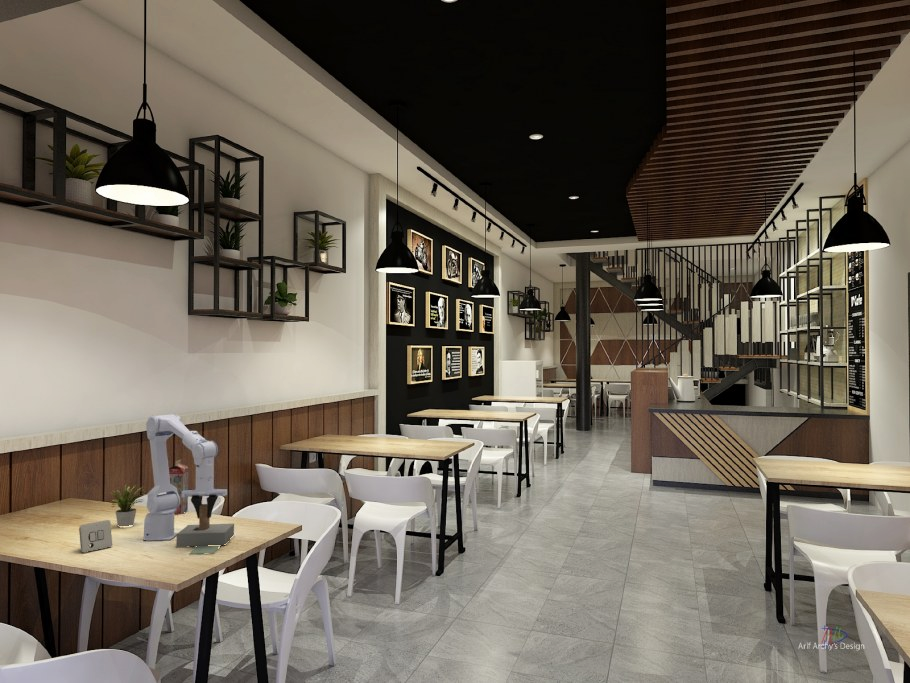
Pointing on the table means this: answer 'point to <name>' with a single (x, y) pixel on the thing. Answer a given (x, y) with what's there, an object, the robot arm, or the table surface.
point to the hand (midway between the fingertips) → (204, 517)
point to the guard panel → (205, 535)
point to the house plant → (126, 506)
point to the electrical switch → (95, 535)
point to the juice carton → (180, 484)
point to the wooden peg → (203, 517)
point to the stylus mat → (204, 549)
